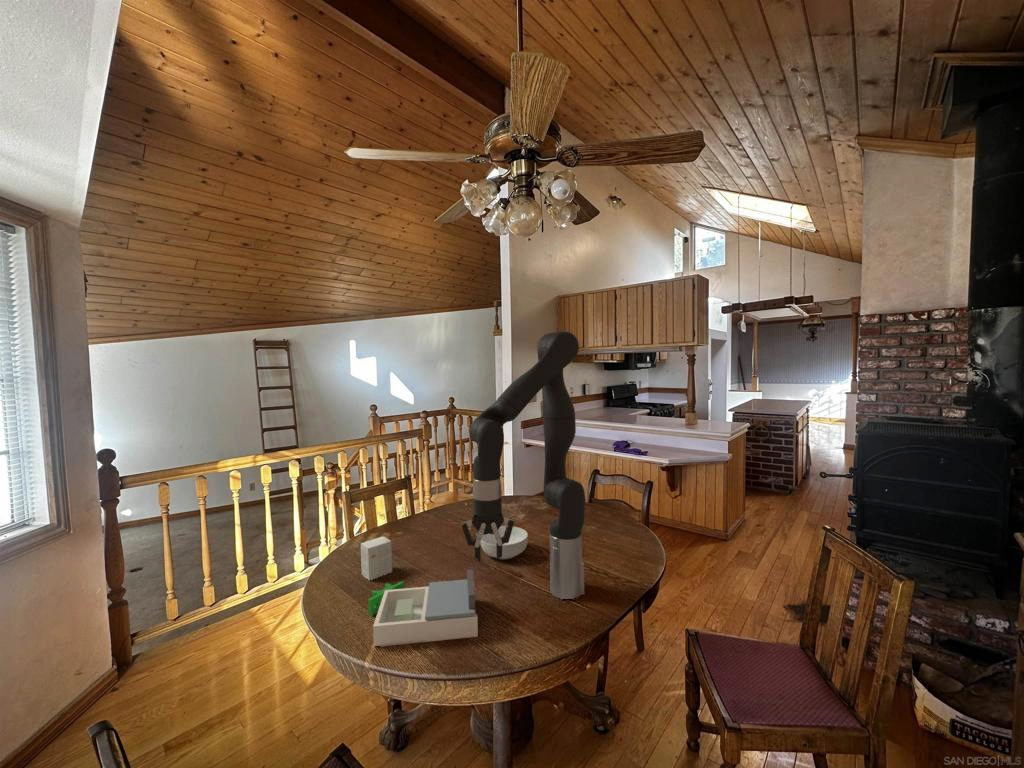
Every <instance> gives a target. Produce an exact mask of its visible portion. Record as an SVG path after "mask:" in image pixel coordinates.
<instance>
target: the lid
mask: <svg viewBox="0 0 1024 768" xmlns="http://www.w3.org/2000/svg"><path fill="white" fill-rule="evenodd" d="M466 576H467V578H466V579H458V580H457V579H456V580H444V581H433V582H431V581H430V582H429V583H428V586H429V590H428V597H427V605H426V613H425V620H433V619H444V618H454V617H465V616H475V614H476V591H475V592H474V583H475V582H474V571H473V569H467V573H466Z"/></svg>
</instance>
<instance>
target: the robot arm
mask: <svg viewBox="0 0 1024 768" xmlns="http://www.w3.org/2000/svg"><path fill="white" fill-rule="evenodd" d="M578 340H579V339H578V338H577V337H576V336H575V335H574V334H573V333H572V332H569V331H555V332H549V333H545V334H544V335H543V336H541V337H540V339H539V341H538V342H537V347H536V348H537V358H538V359H537V360H538V361H537V362H536V363H535V364H534V365H533V366H532V367H531V368H530V369H528V370H526V372H524V373H523V374H521V375H520V376H519V377H517V379H515V380H514V381H513V382H511V383H510V384H509V386H508V387H507V388H506V389H504V391H503V392H502V393H501V394H500V396H499V397H498V398H497V399H496V401H494V403H493V404H490V406H488V407H487V408H486V409H484V410H483V411H482V412H481V413H479V414H478V415H477V416H476V418H474V420H472V421H473V422H472V423H471V425H470V427H469V430H468V431H469V432H468V433H469V436H470V437H469V438H470V439H471V440H472V441H473V442H474V443H476V444H478V447H477V448H478V449H477V450H478V451H477V455H476V456H475V457H474V459H473V463H472V464H473V466H472V467H473V468H472V469H473V470H472V471H473V483H472V509H473V510H472V512H473V513H472V517H471V519H469V520H463V521H462V522H461V527H462V531H463V534H464V537H465V539H466V544H467V545H468V546H469V547H474V558H475V560H477V562H481V559H482V558H481V543H480V542H481V539H482V536H483V535H486V534H494V535H495V538H496V541H497V543H496V556H497V558H496V560H497V561H498V560H501V559H500V557H502V545H503V544H504V543H508V542H509V539H510V536H511V532H512V528H513V527H514V523H515V522H514V520H513V518H512V517H509V518H507V517H504V515H503V501H502V499H503V497H502V495H503V490H502V480H501V458H502V455H503V454H502V453H503V449H504V442H505V434H504V429H503V426H504V425H505V424H507V423H508V422H509V423H510V422H512V421H515V419H517V417H518V416H519V415H520V414H521V413H522V411H523V410H524V409H525V408H526V407H527V405H529V403H530V402H531V400H533V398H535V396H536V395H537V394H538V393H539V392H540V391H541V395H542V422H543V423H542V425H543V437H544V441H543V442H544V472H543V474H544V476H543V497H544V500H545V503H547V504H548V505H549V506H551V507H552V508H554V509H557V510H558V511H559V514H558V518H556V519H554V520H552V521H551V522H550V523H549V589H550V590H549V591H550V594H551V595H552V597H554V598H556V597H557V599H559V598H560V599H559V600H563V599H573V600H575V599H574V598H576V597H578V596H580V595H582V594H584V595H585V562H584V560H583V557H582V556H583V553H582V552H583V551H582V550H583V548H582V547H583V544H582V543H583V541H582V534H583V533H582V531H583V527H584V524H585V515H586V514H585V512H586V510H585V509H586V493H585V488H584V487H583V485H582V484H581V482H580V481H577V480H574V479H571V478H568V477H567V472H566V459H567V456H568V455H567V454H568V452H569V451H570V448H571V446H572V444H573V442H574V440H575V437H576V433H577V432H576V430H577V428H576V427H577V426H576V411H575V406H574V404H573V401H572V398H571V396H570V394H569V392H568V389H567V387H566V384H565V378H564V368H566V367H568V365H570V364H571V363H572V362H573V361H575V359H576V357H577V356H578V353H579V349H580V344H579V341H578ZM503 523H504V526H505V527H506V529H505V533H504V536H503V537H500V534H499V531H498V529H499V528H500V526H503ZM472 526H473V527H474V528H475V530H476V533H475V534H476V535H475V537H474V538H473V537H472V535H471V531H470V530H471V529H472ZM580 597H581V596H580ZM578 598H579V597H578ZM576 599H577V598H576Z"/></svg>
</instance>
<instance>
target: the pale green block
mask: <svg viewBox="0 0 1024 768" xmlns="http://www.w3.org/2000/svg"><path fill="white" fill-rule="evenodd" d="M413 615H414V604H413V598H412V599H401V600H398V601H397V606H396V610H395V614H394V622H399V621H409V620H413Z"/></svg>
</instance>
